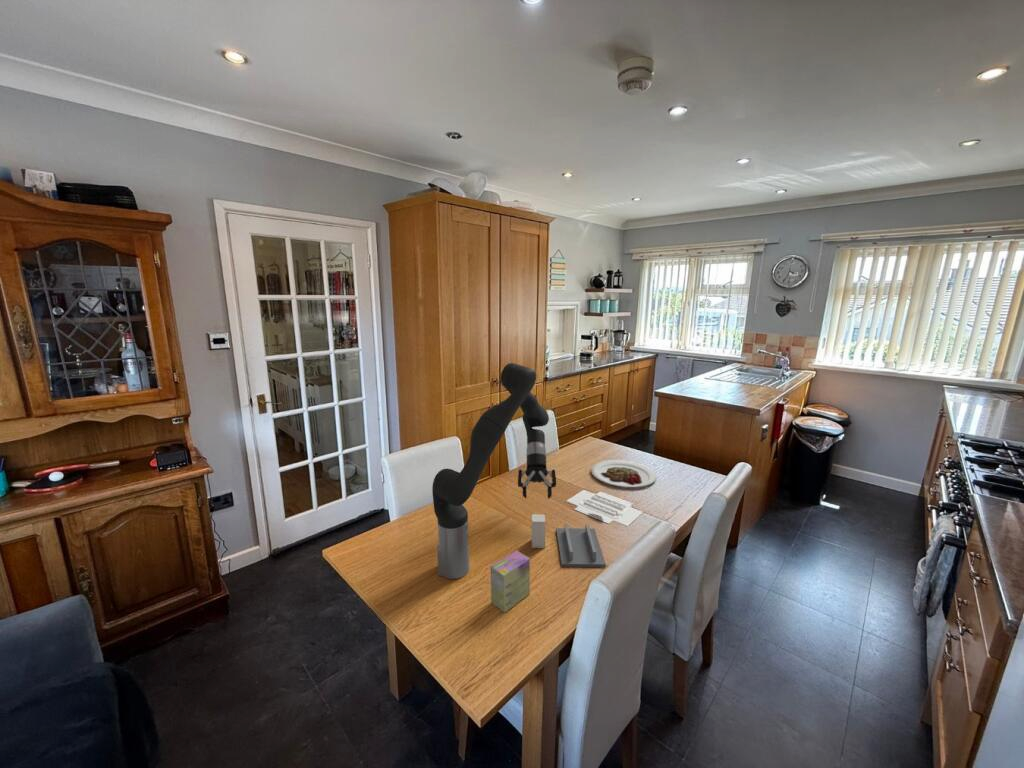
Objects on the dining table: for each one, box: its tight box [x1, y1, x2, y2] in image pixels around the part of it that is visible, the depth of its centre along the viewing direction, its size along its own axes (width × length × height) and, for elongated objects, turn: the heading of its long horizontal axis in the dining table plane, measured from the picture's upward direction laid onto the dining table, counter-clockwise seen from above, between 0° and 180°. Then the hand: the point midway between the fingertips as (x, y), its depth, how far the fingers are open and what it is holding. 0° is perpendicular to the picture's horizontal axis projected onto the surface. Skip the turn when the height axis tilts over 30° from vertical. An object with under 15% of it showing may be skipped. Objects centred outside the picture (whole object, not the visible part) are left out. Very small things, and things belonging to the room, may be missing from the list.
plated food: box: [590, 459, 657, 489], centre depth 193 cm, size 30×30×3 cm
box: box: [490, 550, 531, 613], centre depth 114 cm, size 10×6×12 cm, turn 134°
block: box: [531, 513, 546, 549], centre depth 139 cm, size 4×4×10 cm
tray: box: [566, 489, 644, 527], centre depth 165 cm, size 20×28×4 cm
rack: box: [555, 523, 607, 568], centre depth 138 cm, size 14×20×4 cm
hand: (537, 497), depth 147 cm, fingers open, 8 cm apart
